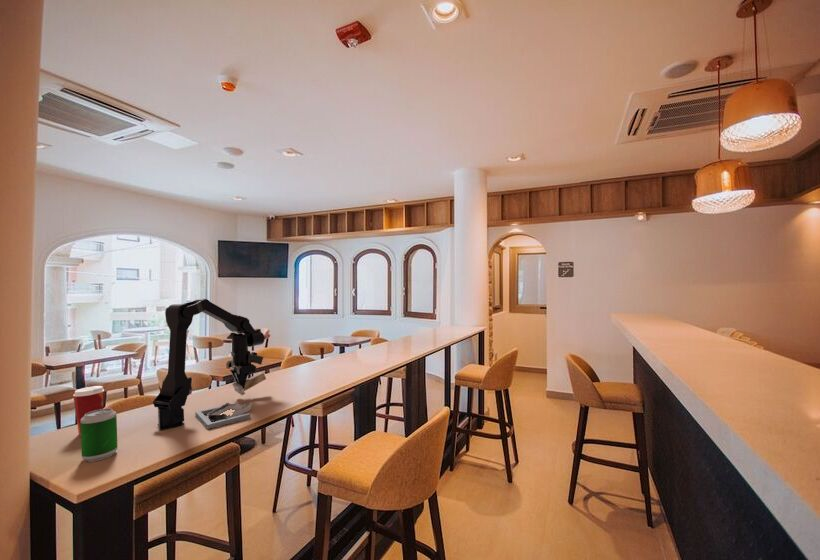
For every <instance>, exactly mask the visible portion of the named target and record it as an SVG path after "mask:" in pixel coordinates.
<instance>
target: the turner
mask: <svg viewBox="0 0 820 560" xmlns="http://www.w3.org/2000/svg"><path fill="white" fill-rule="evenodd" d="M265 380H267V378H266V375H265V373H264V372H263V371H260V372H258V373H256V374H254V375H252V376H251V377H249V378H247V379H246V383H245V387H244V389H243V387H242V386H241V385H239V384H238V383H236V381H234V382H232V383H231V385H232V387H233V389H234V391H235V392H236V393H238V394H239V395H241V396H244V395H245V394H246V391H247V390H249V389H251V388H253V387H255V386H256V385H258V384H260V383H261V382H264V381H265Z"/></svg>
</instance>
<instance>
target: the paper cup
mask: <svg viewBox="0 0 820 560" xmlns="http://www.w3.org/2000/svg"><path fill="white" fill-rule="evenodd" d="M104 392H105V389H104V386H103V385H93V386H87V387H82V388H78V389H76V390H75V391H74V394H72V396H73V397H74V404H75V405H74V406H75V413H76V415H75V416H76V425H77V431H78V435H79V437H81V418H83V417H84V415H85V414H86V413H89V412H92V411H95V410H100V409H104Z"/></svg>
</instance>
